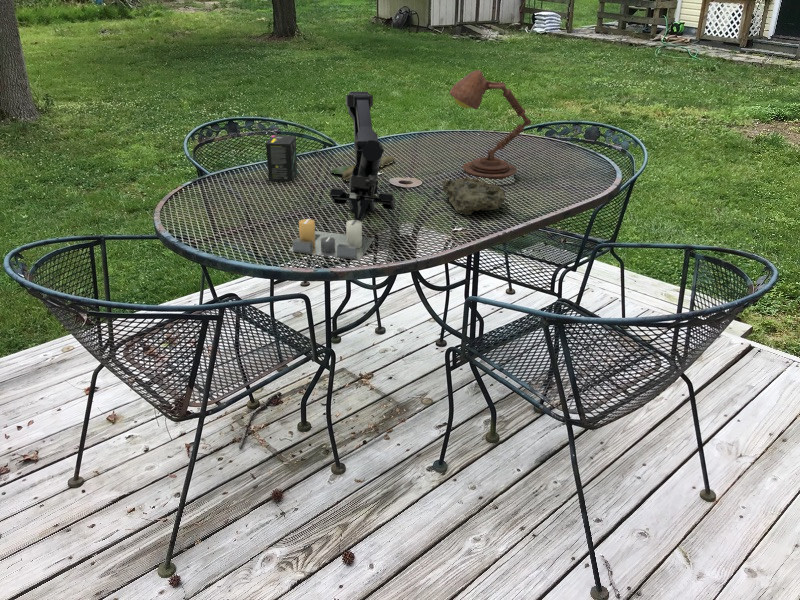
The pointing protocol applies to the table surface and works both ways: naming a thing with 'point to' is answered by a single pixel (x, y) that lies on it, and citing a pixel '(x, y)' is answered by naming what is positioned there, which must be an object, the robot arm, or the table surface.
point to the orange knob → (307, 230)
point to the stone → (473, 195)
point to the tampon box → (281, 158)
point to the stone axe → (347, 170)
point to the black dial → (327, 244)
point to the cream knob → (354, 233)
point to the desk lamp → (471, 96)
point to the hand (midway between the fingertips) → (357, 225)
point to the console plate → (340, 246)
